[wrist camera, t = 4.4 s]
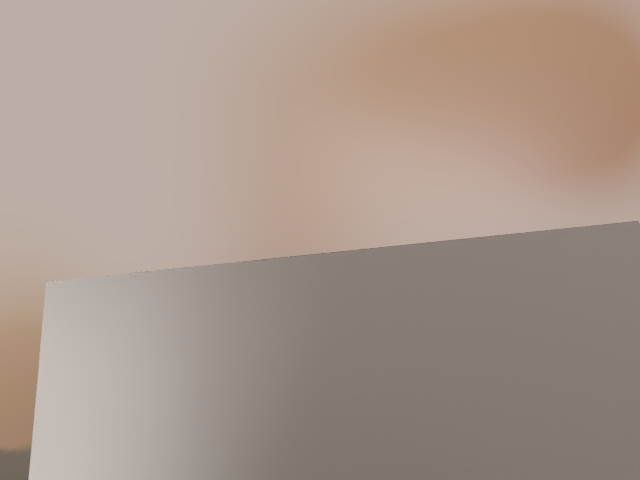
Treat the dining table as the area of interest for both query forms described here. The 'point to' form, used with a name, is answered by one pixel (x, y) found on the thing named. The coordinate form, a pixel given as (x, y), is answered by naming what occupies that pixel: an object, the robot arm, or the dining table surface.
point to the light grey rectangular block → (352, 365)
